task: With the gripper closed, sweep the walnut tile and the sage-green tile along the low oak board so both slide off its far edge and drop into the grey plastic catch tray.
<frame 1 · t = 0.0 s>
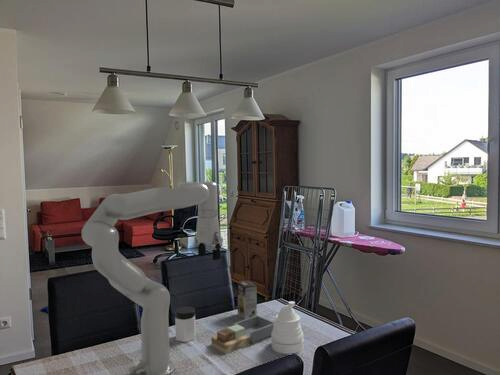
hand: (209, 257, 154), 37 cm above the table, tool pointing down, fingers open, 9 cm apart
coffee box: (247, 316, 189), on the table
honey pot: (287, 346, 158), on the table
tile far: (236, 335, 162), point 3 cm above the table, touching board
board: (230, 344, 160), on the table
tile near: (225, 339, 158), point 3 cm above the table, touching board
jar: (185, 338, 167), on the table
tray: (254, 334, 169), on the table
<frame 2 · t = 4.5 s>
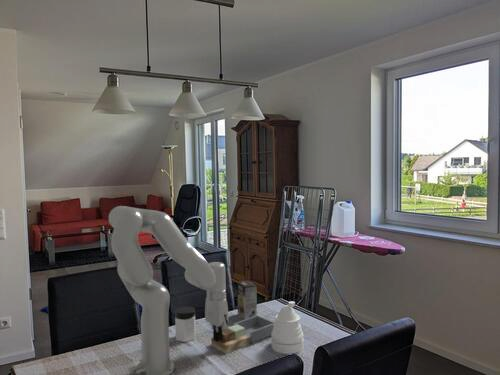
hand: (217, 339, 156), 4 cm above the table, tool pointing down, fingers closed
tile near: (226, 338, 158), point 3 cm above the table, touching board, gripper
everything else where it was.
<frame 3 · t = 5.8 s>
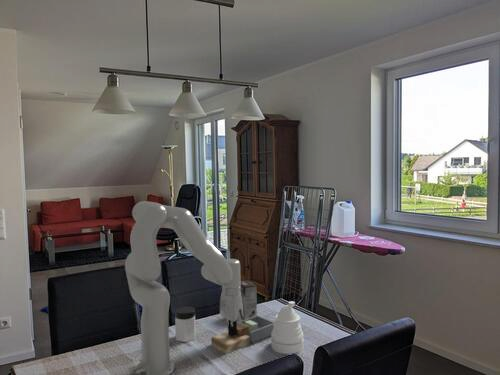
hand: (232, 334, 160), 4 cm above the table, tool pointing down, fingers closed
tile far: (248, 329, 166), point 4 cm above the table, tilted 94°, touching tray
tile near: (240, 333, 163), point 3 cm above the table, touching gripper
everything else where it was.
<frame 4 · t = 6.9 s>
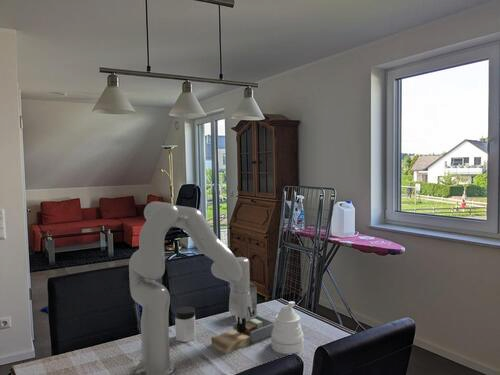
hand: (241, 331, 164), 4 cm above the table, tool pointing down, fingers closed
tile far: (253, 327, 168), point 3 cm above the table, tilted 92°, touching tile near
tile near: (248, 332, 166), point 2 cm above the table, touching gripper, tile far
everything else where it was.
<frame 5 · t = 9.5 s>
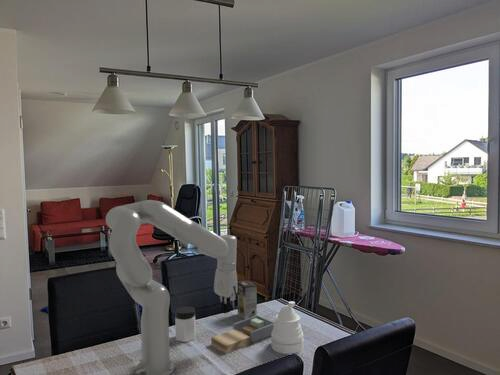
hand: (225, 312, 158), 14 cm above the table, tool pointing down, fingers closed
tile far: (254, 327, 168), point 3 cm above the table, tilted 90°, touching tile near, tray
tile near: (250, 334, 167), point 1 cm above the table, touching tile far, tray
everything else where it was.
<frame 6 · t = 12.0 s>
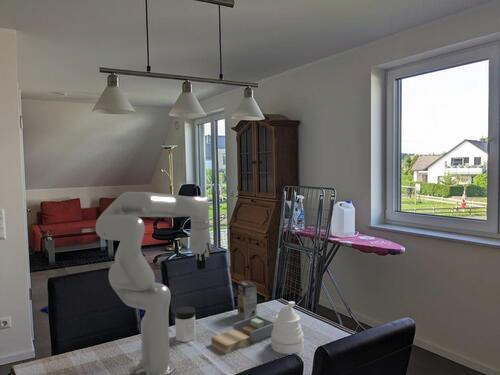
hand: (201, 268, 166), 29 cm above the table, tool pointing down, fingers closed
nothing on the table moved.
at the end: tile near inside the target area on the tray (2.9 cm from its centre), point 0.8 cm above the tray's base; tile far inside the target area on the tray (0.3 cm from its centre), point 3.3 cm above the tray's base; tile near touching tile far, tray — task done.
